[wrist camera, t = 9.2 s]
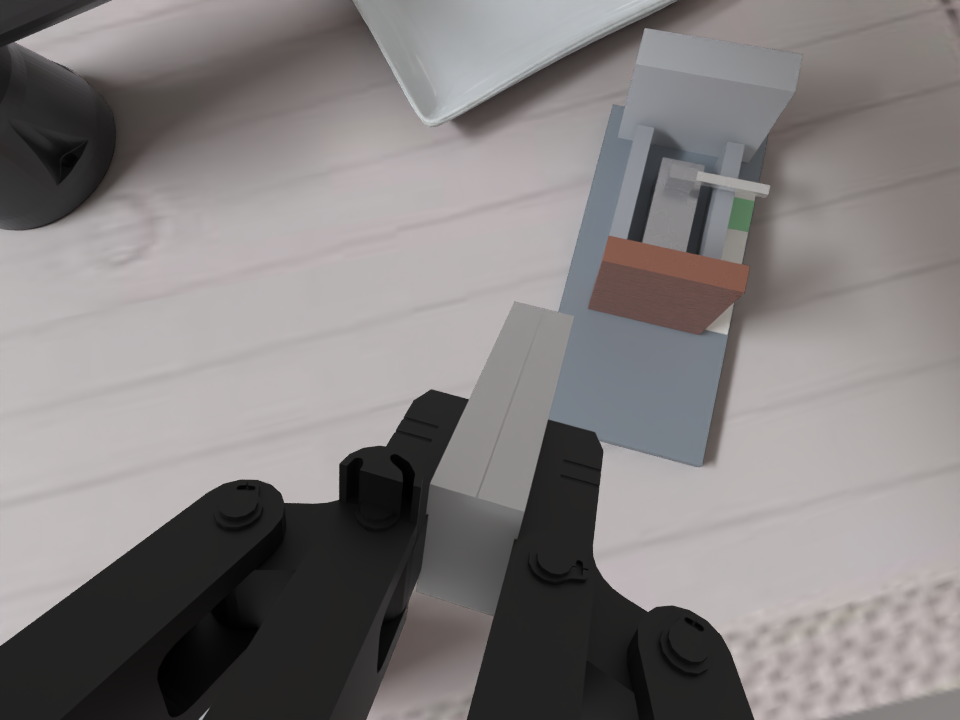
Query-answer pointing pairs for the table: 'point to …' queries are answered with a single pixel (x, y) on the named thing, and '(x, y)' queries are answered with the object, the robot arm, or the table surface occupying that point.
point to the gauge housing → (714, 233)
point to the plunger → (671, 258)
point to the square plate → (484, 43)
